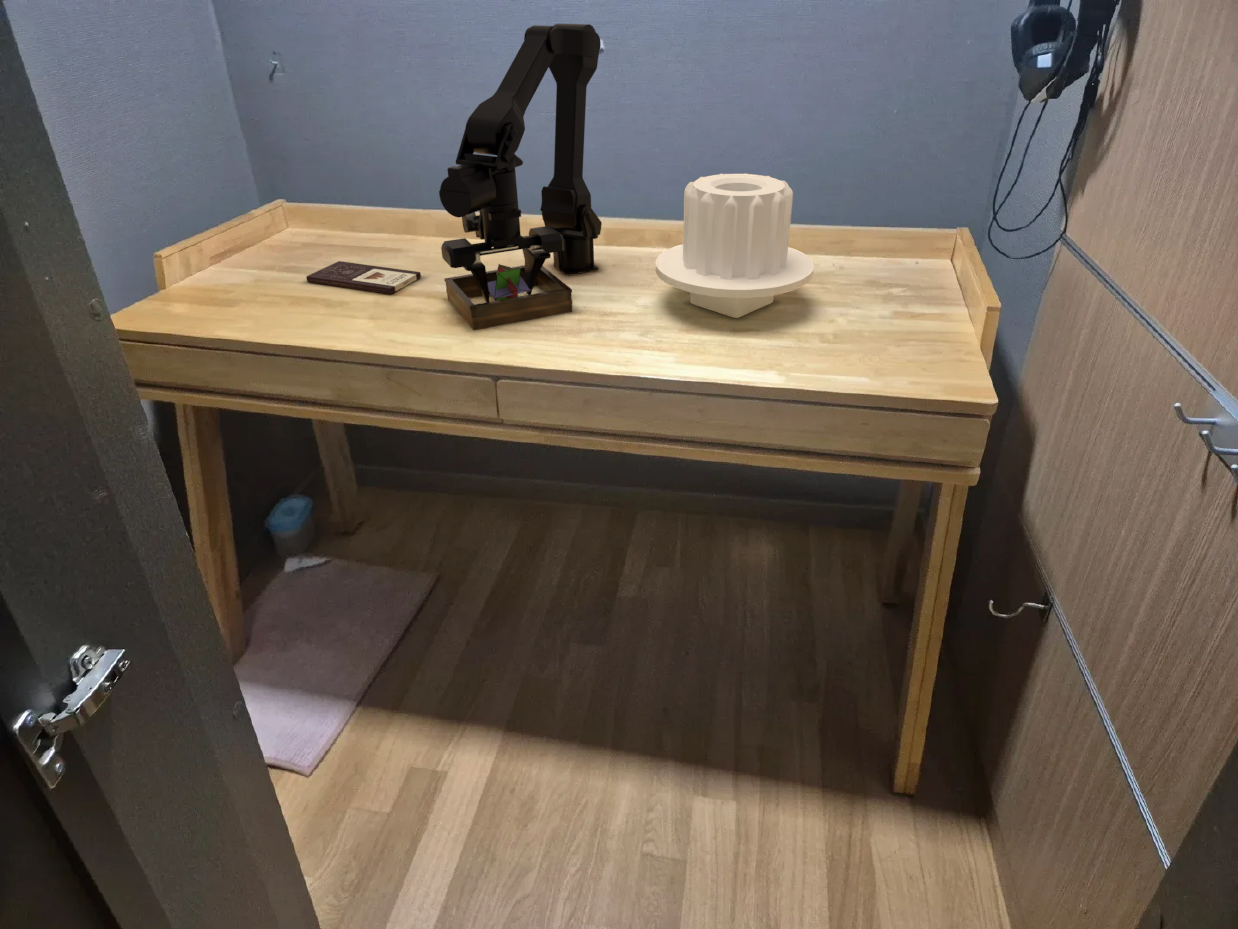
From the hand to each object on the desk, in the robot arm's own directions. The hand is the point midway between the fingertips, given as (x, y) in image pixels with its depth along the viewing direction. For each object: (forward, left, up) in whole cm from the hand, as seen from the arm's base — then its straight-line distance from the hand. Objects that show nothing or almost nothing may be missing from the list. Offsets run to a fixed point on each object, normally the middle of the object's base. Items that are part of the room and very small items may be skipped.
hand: (508, 297), depth 133 cm
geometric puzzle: (0, 0, -2) cm, 2 cm away
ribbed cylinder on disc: (-33, +16, -2) cm, 37 cm away
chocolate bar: (+19, -24, -1) cm, 31 cm away
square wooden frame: (0, 0, -1) cm, 1 cm away
